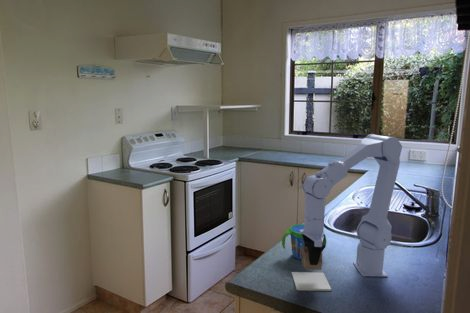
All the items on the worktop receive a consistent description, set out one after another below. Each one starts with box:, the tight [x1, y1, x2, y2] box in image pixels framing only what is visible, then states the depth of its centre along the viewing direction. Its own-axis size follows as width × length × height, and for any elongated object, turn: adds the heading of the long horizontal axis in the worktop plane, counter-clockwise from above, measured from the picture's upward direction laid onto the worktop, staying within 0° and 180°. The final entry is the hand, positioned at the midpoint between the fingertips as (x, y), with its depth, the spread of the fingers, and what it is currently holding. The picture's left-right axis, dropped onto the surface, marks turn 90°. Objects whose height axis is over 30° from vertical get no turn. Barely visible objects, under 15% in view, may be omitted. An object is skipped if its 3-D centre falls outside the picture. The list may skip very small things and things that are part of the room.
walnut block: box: [301, 247, 323, 271], centre depth 110 cm, size 5×5×5 cm
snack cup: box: [281, 223, 327, 261], centre depth 128 cm, size 16×10×10 cm
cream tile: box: [291, 271, 332, 292], centre depth 111 cm, size 10×10×1 cm
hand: (311, 260), depth 110 cm, fingers closed on walnut block, 5 cm apart
